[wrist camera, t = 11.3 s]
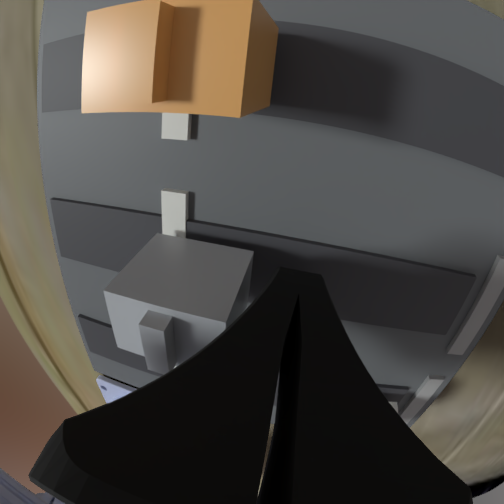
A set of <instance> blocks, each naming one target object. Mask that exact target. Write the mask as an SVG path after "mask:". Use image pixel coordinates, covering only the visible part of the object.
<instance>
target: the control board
mask: <svg viewBox="0 0 504 504" xmlns="http://www.w3.org/2000/svg"><path fill="white" fill-rule="evenodd" d="M136 1H142V0H44V6H43V13H42V21H41V29H40V40H39V52H38V73H37V112H38V133H39V147H40V158H41V167H42V176H43V183H44V191H45V197H46V203H47V209H48V215H49V220H50V226H51V231H52V235H53V240H54V245H55V249H56V253H57V257H58V262H59V266H60V269H61V273H62V277H63V281H64V284H65V288H66V291H67V295H68V298H69V301H70V304H71V308H72V311H73V314H74V317H75V320H76V323H77V326H78V329H79V332H80V334H81V337H82V340H83V343H84V345H85V348H86V351H87V353H88V356H89V358H90V361H91V363H92V366H93V368H94V370H95V371H97V372H99V373H102V374H104V375H107V376H109V377H112V378H114V379H117V380H119V381H122V382H125V383H127V384H130V385H133V386H135V387H138V388H141V387H143V386H144V385H146V384H148V383H150V382H152V381H154V380H156V379H157V378H159V377H161V376H163V374H160V373H157V372H154V371H151V370H148V368H147V364H146V359H145V356H142V355H138V354H135V353H133V352H130V351H127V350H124V349H121V348H118V347H117V343H116V340H115V336H114V332H113V328H112V325H111V321H110V317H109V313H108V308H107V304H106V300H105V296H104V291H103V290H104V289H105V288H106V287H107V286H108V285H109V284H110V282H111V281H112V280H113V279H114V278H115V277H116V276H117V275H118V274H119V273H120V271H121V270H122V269H123V268H124V267H125V266H126V265H127V264H128V263H129V262H130V261H131V260H132V259H133V257H134V256H135V255H136V254H137V253H138V252H139V251H140V250H141V249H142V248H143V247H144V246H145V245H146V244H147V243H148V242H149V241H150V240H151V239H152V238H153V237H154V236H155V235H156V234H157V233H160V234H165V235H171V236H176V237H181V238H186V239H192V240H197V241H202V242H208V243H213V244H218V245H224V246H229V247H234V248H239V249H245V250H250V251H254V255H253V263H252V272H251V280H250V288H249V297H248V305H247V308H248V306H249V305H250V304H251V303H252V302H253V301H254V299H255V298H256V297H257V296H258V295H259V294H260V292H261V291H262V290H263V289H264V287H265V286H266V285H267V283H268V282H269V280H270V279H271V277H272V276H273V274H274V272H275V270H276V269H277V268H279V267H285V268H290V269H295V270H300V271H306V272H311V273H316V274H321V275H322V277H323V278H324V281H325V284H326V287H327V289H328V292H329V295H330V297H331V300H332V302H333V304H334V307H335V309H336V311H337V314H338V316H339V318H340V320H341V322H342V324H343V326H344V329H345V331H346V333H347V335H348V337H349V339H350V340H351V342H352V344H353V346H354V348H355V350H356V352H357V353H358V355H359V357H360V359H361V360H362V362H363V364H364V366H365V367H366V369H367V370H368V372H369V374H370V375H371V377H372V378H373V380H374V381H375V383H376V384H377V386H378V387H379V389H380V390H381V392H382V393H383V395H384V396H385V397H386V399H387V400H388V401H389V402H397V406H398V414H399V415H400V417H401V418H402V419H403V420H404V422H405V423H406V424H407V425H408V427H409V428H410V427H411V426H412V425H413V424H414V423H415V421H416V420H417V419H418V418H419V417H420V416H421V415H422V414H423V413H424V412H425V410H426V409H427V408H428V407H429V406H430V405H431V404H432V402H433V401H434V400H435V399H436V398H437V396H438V395H439V394H440V393H441V392H442V390H443V389H444V388H445V387H446V385H447V384H448V383H449V382H450V380H451V379H452V378H453V376H454V375H455V374H456V372H457V371H458V370H459V368H460V367H461V366H462V364H463V363H464V362H465V360H466V359H467V357H468V356H469V355H470V353H471V352H472V350H473V349H474V347H475V346H476V344H477V343H478V341H479V340H480V338H481V337H482V335H483V334H484V332H485V331H486V329H487V327H488V326H489V324H490V323H491V321H492V319H493V318H494V316H495V314H496V313H497V311H498V309H499V307H500V306H501V304H502V302H503V300H504V19H502V18H500V17H498V16H496V15H495V14H493V13H491V12H489V11H487V10H485V9H483V8H481V7H479V6H477V5H475V4H473V3H471V2H469V1H467V0H259V1H260V3H261V4H262V5H263V7H264V8H265V9H266V11H267V12H268V14H269V15H270V16H271V18H272V19H273V21H274V22H275V24H276V25H277V26H278V28H279V30H278V39H277V47H276V56H275V64H274V73H273V82H272V90H271V99H270V106H269V107H266V108H264V109H261V110H259V111H256V112H254V113H251V114H249V115H246V116H244V117H241V118H236V117H226V116H214V115H201V114H185V113H160V112H104V113H81V93H82V63H83V48H84V36H85V26H86V17H87V12H90V11H93V10H98V9H102V8H106V7H110V6H115V5H120V4H125V3H130V2H136ZM247 308H246V309H247ZM176 367H177V366H175V367H174V368H176ZM279 373H280V369H279ZM278 384H279V375H278V381H277V387H276V393H275V399H274V405H273V411H272V417H271V423H272V424H275V415H276V405H277V395H278Z"/></svg>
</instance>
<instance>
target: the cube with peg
mask: <svg viewBox="0 0 504 504" xmlns="http://www.w3.org/2000/svg"><path fill="white" fill-rule="evenodd" d="M253 255H254V251H250V250H245V249H239V248H234V247H229V246H224V245H218V244H213V243H208V242H202V241H197V240H192V239H186V238H181V237H176V236H171V235H165V234H160V233H157V234H156V235H155V236H154V237H153V238H152V239H151V240H150V241H149V242H148V243H147V244H146V245H145V246H144V247H143V248H142V249H141V250H140V251H139V252H138V253H137V254H136V255H135V256H134V257H133V259H132V260H131V261H130V262H129V263H128V264H127V265H126V266H125V267H124V268H123V269H122V270H121V271H120V273H119V274H118V275H117V276H116V277H115V278H114V279H113V280H112V281H111V282H110V284H109V285H108V286H107V287H106V288H105V289H104V290H103V291H104V296H105V300H106V304H107V308H108V313H109V317H110V321H111V325H112V328H113V332H114V336H115V340H116V343H117V347H118V348H121V349H124V350H127V351H130V352H133V353H135V354H138V355H142V356H145V359H146V364H147V368H148V370H151V371H154V372H157V373H160V374H163V375H164V374H166V373H168V372H169V371H171V370H172V369H174V367H175V366H178V365H180V364H181V363H183V362H184V361H186V360H187V359H189V358H190V357H192V356H193V355H194V354H196V353H197V352H199V351H200V350H201V349H202V348H204V347H205V346H206V345H208V344H209V343H210V342H211V341H213V340H214V339H215V338H216V337H217V336H218V335H220V334H221V333H222V332H223V331H224V330H225V329H226V328H227V327H228V326H230V325H231V324H232V323H233V322H234V321H235V320H236V319H237V318H238V317H239V316H240V315H241V314H242V313H243V312H244V311H245V310H246V308H247V305H248V297H249V288H250V280H251V272H252V263H253Z"/></svg>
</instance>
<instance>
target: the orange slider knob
mask: <svg viewBox="0 0 504 504" xmlns="http://www.w3.org/2000/svg"><path fill="white" fill-rule="evenodd" d="M278 30H279V28H278V26H277V25H276V24H275V22H274V21H273V19H272V18H271V16H270V15H269V14H268V12H267V11H266V9H265V8H264V7H263V5H262V4H261V3H260V1H259V0H142V1H136V2H130V3H125V4H120V5H115V6H110V7H106V8H102V9H98V10H93V11H90V12H87V17H86V26H85V36H84V48H83V63H82V93H81V113H104V112H160V113H185V114H201V115H214V116H226V117H236V118H241V117H244V116H246V115H249V114H251V113H254V112H256V111H259V110H261V109H264V108H266V107H269V106H270V99H271V90H272V82H273V73H274V64H275V56H276V47H277V39H278Z"/></svg>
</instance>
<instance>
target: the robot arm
mask: <svg viewBox="0 0 504 504" xmlns="http://www.w3.org/2000/svg"><path fill="white" fill-rule="evenodd" d="M279 369H280V373H279ZM278 375H279V384H278V395H277V405H276V415H275V424H274V430H273V436H272V441H271V445H270V450H269V454H268V459H267V463H266V467H265V471H264V476H263V480H262V484H261V488H260V492H259V496H258V499H257V495H258V490H259V485H260V479H261V474H262V468H263V463H264V457H265V451H266V446H267V440H268V434H269V429H270V423H271V417H272V411H273V405H274V399H275V393H276V387H277V381H278ZM96 381H97V383H98V386H99V388H100V390H101V392H102V394H103V396H104V399H105V401H106V403H107V404H105V405H102V406H100V407H97V408H95V409H92V410H90V411H87V412H84V413H82V414H79V415H77V416H74V417H71V418H68V419H65V420H64V422H63V423H62V424H61V426H60V427H59V428H58V429H57V430H56V432H55V433H54V434H53V435H52V436H51V438H50V439H49V441H48V442H47V444H46V445H45V447H44V449H43V451H42V452H41V454H40V456H39V457H38V459H37V461H36V463H35V464H34V467H33V468H32V470H31V471H30V473H29V478H30V481H31V482H33V483H34V484H36V485H37V486H38V487H40V488H41V489H43V490H44V491H46V492H45V493H38V494H36V495H35V494H34V493H32V492H31V491H30V490H28V489H27V488H25V487H24V486H23V485H21V484H20V483H19V482H17V481H16V480H15V479H14V478H12V477H11V476H10V475H8V474H7V473H6V472H5V471H4V470H2V469H1V468H0V504H473V501H472V493H471V488H470V487H469V486H468V485H466V484H465V483H464V482H463V481H462V480H461V479H460V478H459V477H458V476H456V475H455V474H454V473H453V472H452V471H451V470H450V469H449V468H448V467H446V466H445V465H444V464H443V463H442V462H441V461H440V460H439V459H438V458H437V457H436V456H435V455H434V454H433V453H432V452H431V451H430V450H429V449H428V448H427V447H426V446H425V445H424V443H423V442H422V441H421V440H420V439H419V438H418V437H417V436H416V435H415V434H414V433H413V431H412V430H411V429H410V428H409V427H408V425H407V424H406V423H405V422H404V420H403V419H402V418H401V417H400V415H399V414H398V413H397V412H396V410H395V409H394V408H393V407H392V405H391V404H390V403H389V402H388V400H387V399H386V397H385V396H384V395H383V393H382V392H381V390H380V389H379V387H378V386H377V384H376V383H375V381H374V380H373V378H372V377H371V375H370V374H369V372H368V370H367V369H366V367H365V366H364V364H363V362H362V360H361V359H360V357H359V355H358V353H357V352H356V350H355V348H354V346H353V344H352V342H351V340H350V339H349V337H348V335H347V333H346V331H345V329H344V326H343V324H342V322H341V320H340V318H339V316H338V314H337V311H336V309H335V307H334V304H333V302H332V300H331V297H330V295H329V292H328V289H327V287H326V284H325V281H324V278H323V277H322V275H321V274H316V273H311V272H306V271H300V270H295V269H290V268H285V267H279V268H277V269H276V270H275V272H274V274H273V276H272V277H271V279H270V280H269V282H268V283H267V285H266V286H265V287H264V289H263V290H262V291H261V292H260V294H259V295H258V296H257V297H256V298H255V299H254V301H253V302H252V303H251V304H250V305H249V306H248V308H247V309H246V310H245V311H244V312H243V313H242V314H241V315H240V316H239V317H238V318H237V319H236V320H235V321H234V322H233V323H232V324H231V325H230V326H228V327H227V328H226V329H225V330H224V331H223V332H222V333H221V334H220V335H218V336H217V337H216V338H215V339H214V340H213V341H211V342H210V343H209V344H208V345H206V346H205V347H204V348H202V349H201V350H200V351H199V352H197V353H196V354H194V355H193V356H192V357H190V358H189V359H187V360H186V361H184V362H183V363H181V364H180V365H178V366H177V367H176V368H174V369H172V370H171V371H169V372H168V373H166V374H164V375H163V376H161V377H159V378H157V379H156V380H154V381H152V382H150V383H148V384H146V385H144V386H143V387H141V388H139V389H136V388H133V387H130V386H128V385H125V384H122V383H120V382H117V381H115V380H112V379H110V378H107V377H105V376H102V375H99V376H98V378H97V379H96ZM256 501H257V503H256Z"/></svg>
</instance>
